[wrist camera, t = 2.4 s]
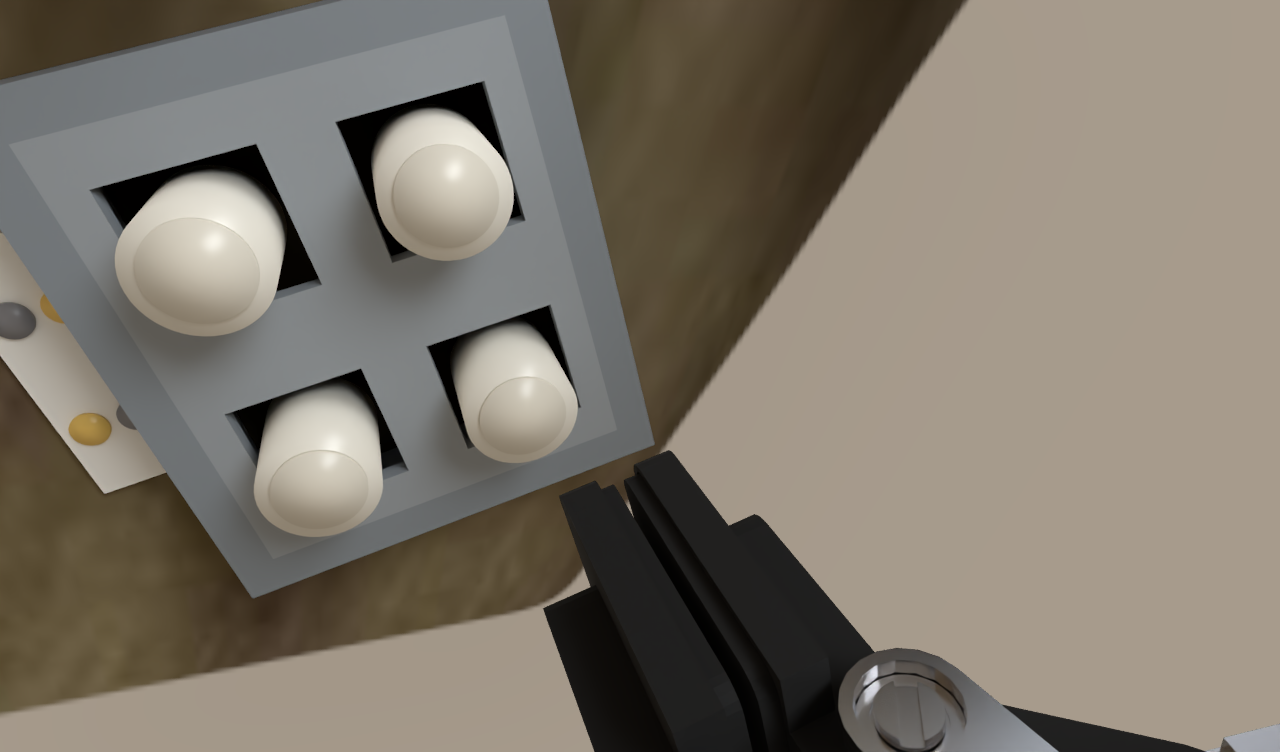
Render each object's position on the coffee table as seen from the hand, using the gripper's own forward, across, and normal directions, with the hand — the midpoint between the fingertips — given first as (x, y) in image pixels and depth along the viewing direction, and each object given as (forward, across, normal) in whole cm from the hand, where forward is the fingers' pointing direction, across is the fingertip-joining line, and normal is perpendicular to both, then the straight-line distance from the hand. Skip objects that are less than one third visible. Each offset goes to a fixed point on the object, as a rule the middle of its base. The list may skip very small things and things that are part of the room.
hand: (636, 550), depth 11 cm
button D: (+21, +7, +7) cm, 24 cm away
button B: (+21, 0, +7) cm, 22 cm away
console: (+24, +4, +3) cm, 25 cm away
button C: (+21, +7, -2) cm, 22 cm away
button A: (+21, 0, -1) cm, 21 cm away
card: (+25, +15, +3) cm, 29 cm away
